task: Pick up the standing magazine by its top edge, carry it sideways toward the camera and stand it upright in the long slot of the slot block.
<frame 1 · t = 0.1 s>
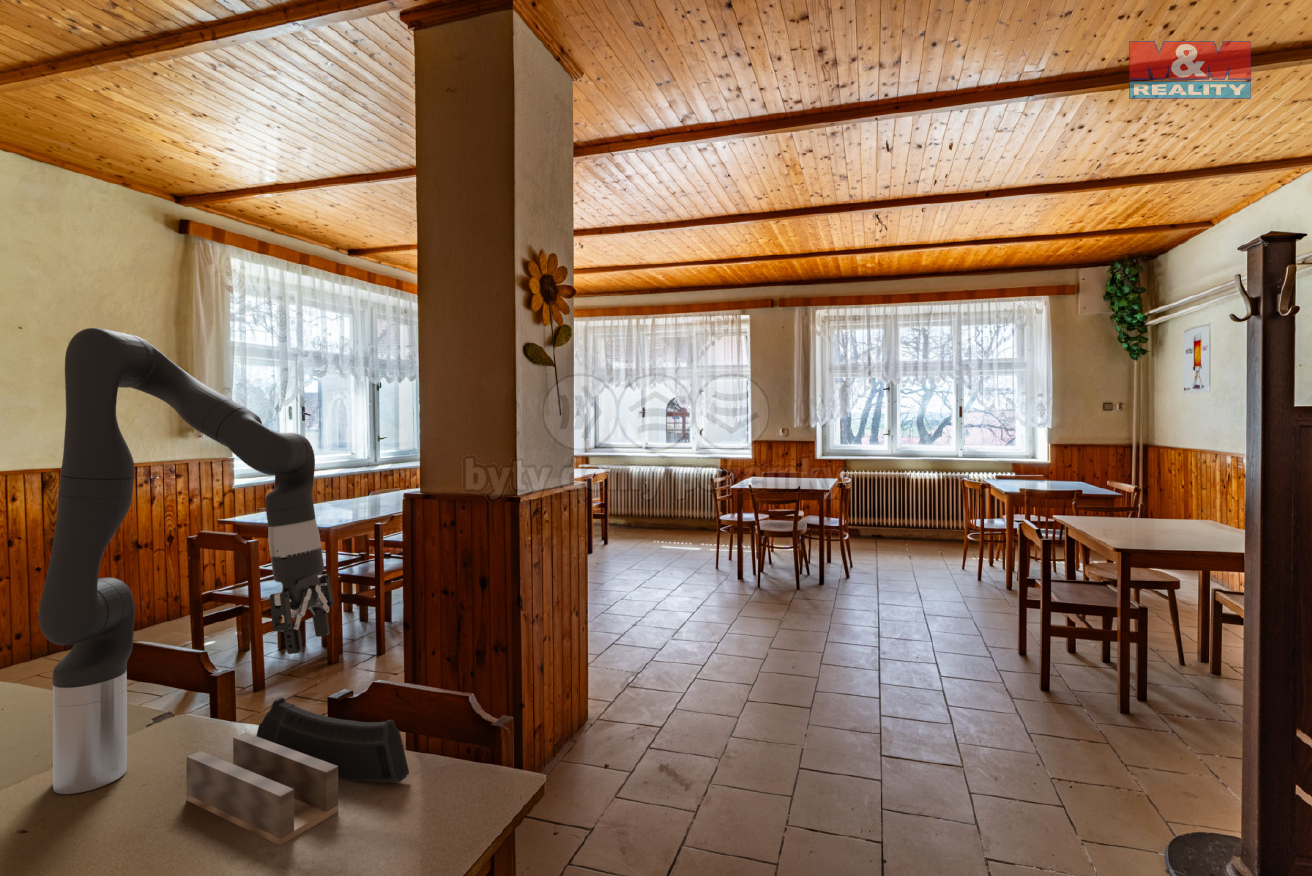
hand: (309, 643, 106), 22 cm above the table, tool pointing down, fingers open, 8 cm apart
magazine: (329, 772, 108), on the table
slot block: (261, 805, 98), on the table
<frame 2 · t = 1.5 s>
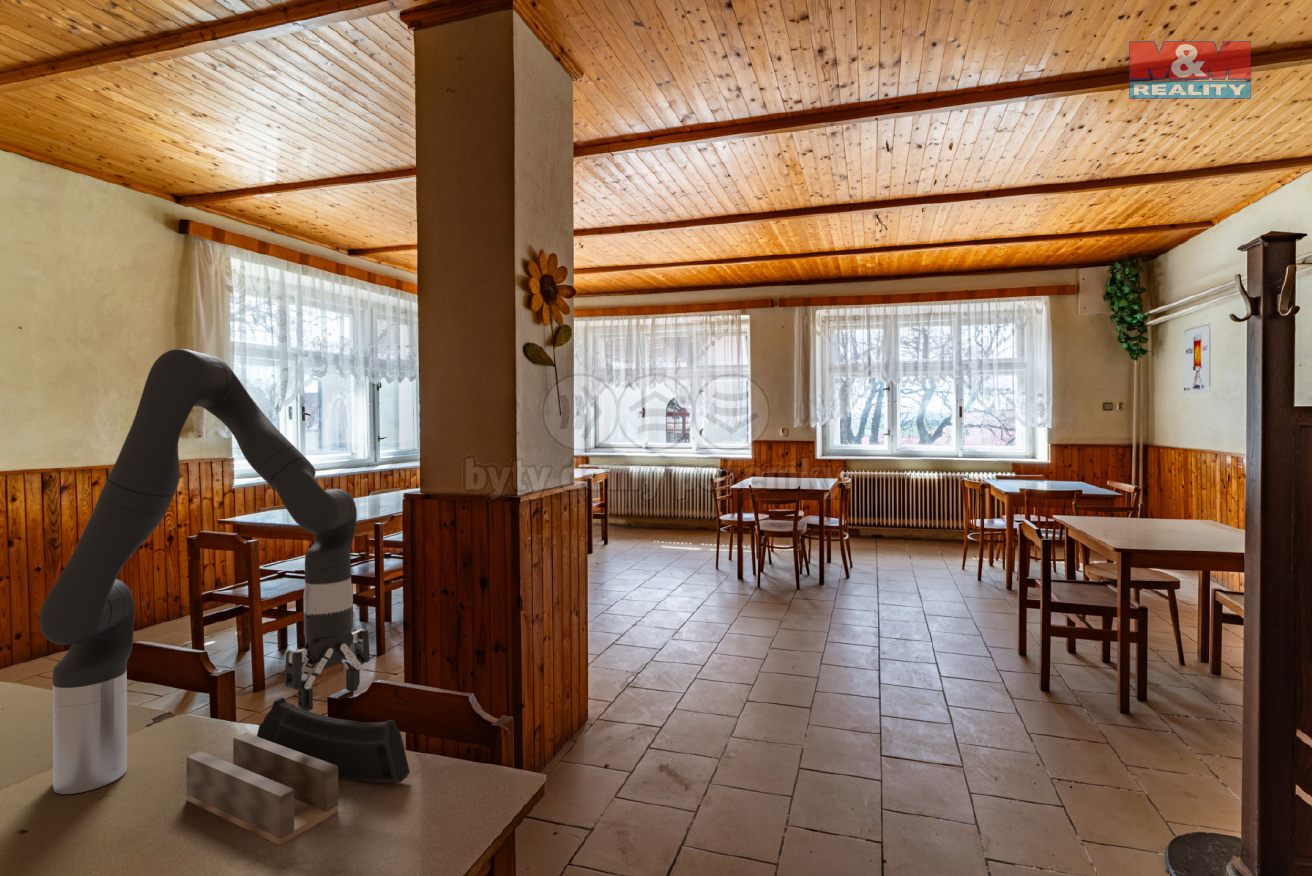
hand: (330, 699, 108), 12 cm above the table, tool pointing down, fingers open, 8 cm apart
nothing on the table moved.
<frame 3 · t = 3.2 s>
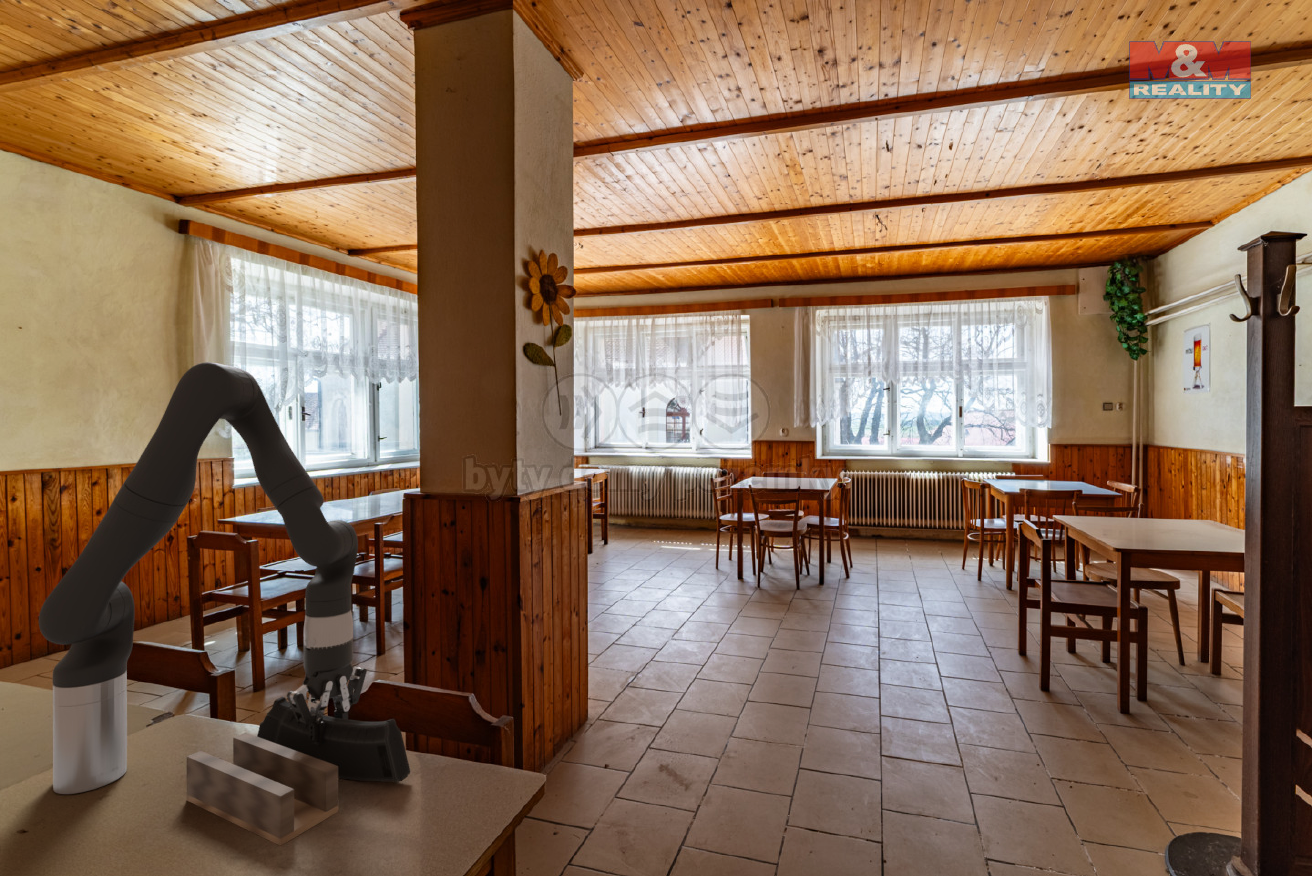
hand: (328, 737, 108), 6 cm above the table, tool pointing down, fingers closed on magazine, 3 cm apart
magazine: (330, 772, 108), on the table, touching gripper
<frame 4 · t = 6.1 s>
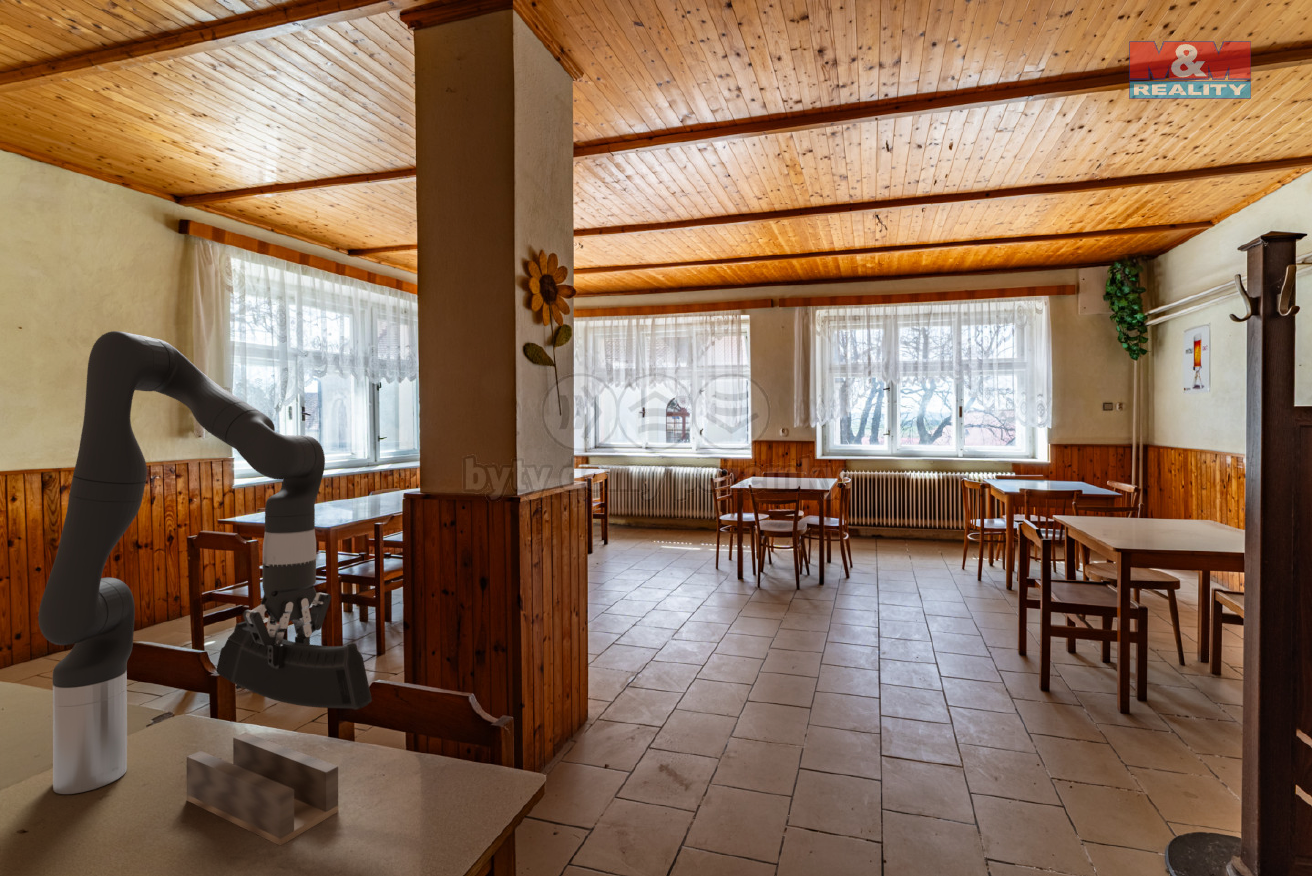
hand: (288, 662, 102), 21 cm above the table, tool pointing down, fingers closed on magazine, 3 cm apart
magazine: (290, 700, 102), point 15 cm above the table, touching gripper
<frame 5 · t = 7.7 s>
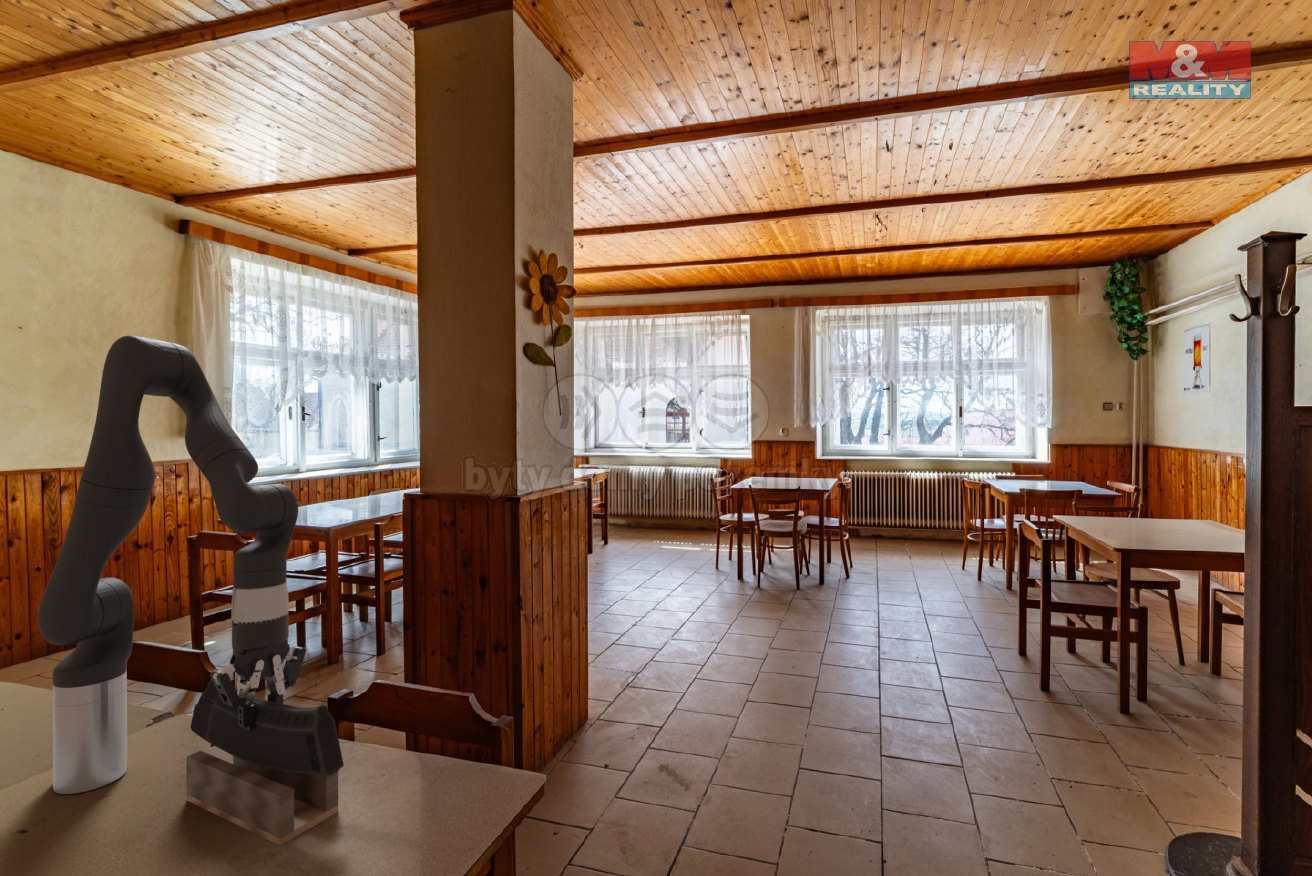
hand: (260, 722, 98), 13 cm above the table, tool pointing down, fingers closed on magazine, 3 cm apart
magazine: (263, 761, 98), point 7 cm above the table, touching gripper
when the fingers open (8 cm above the table, at t = 9.0 s): magazine drops 1 cm, resting on slot block.
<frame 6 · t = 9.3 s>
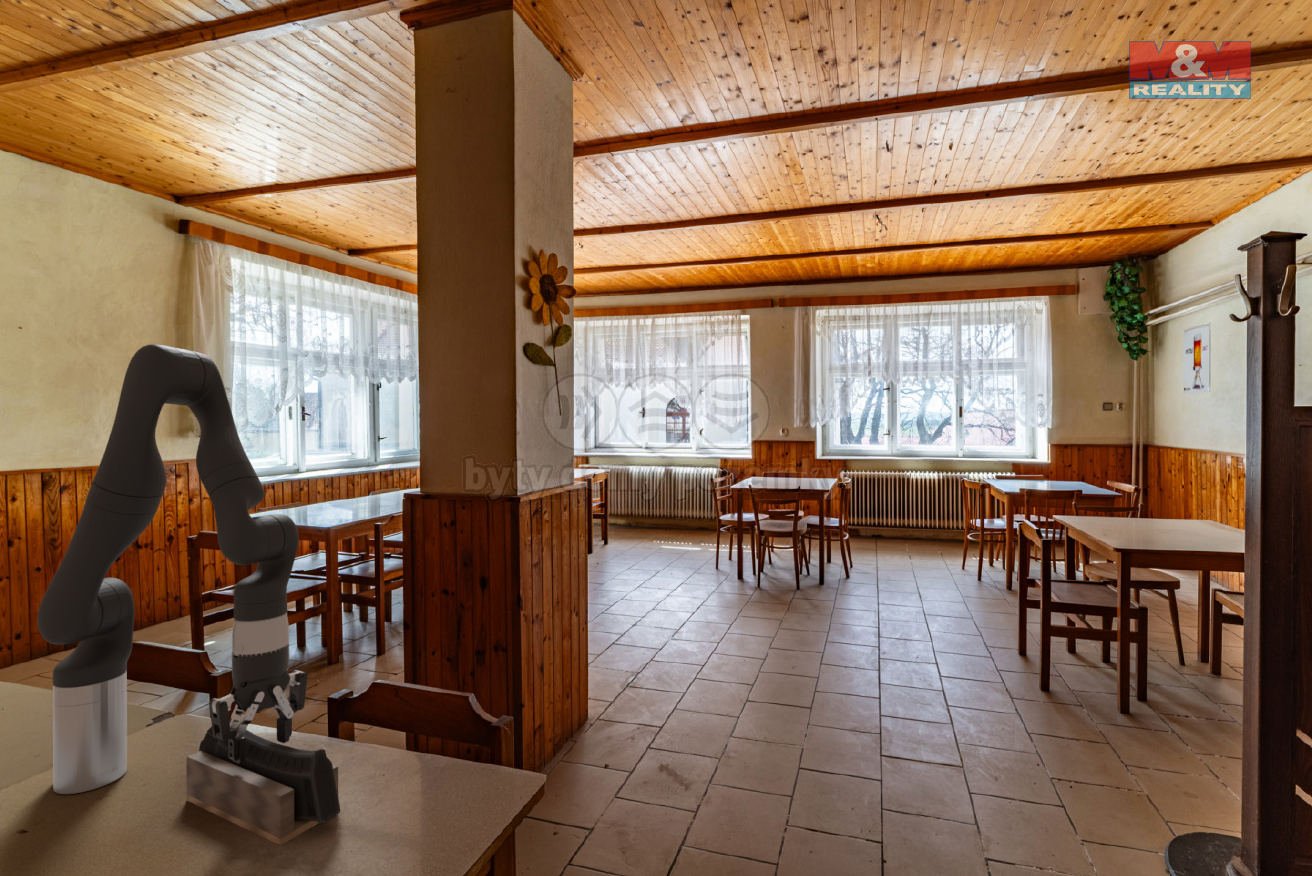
hand: (261, 750, 98), 9 cm above the table, tool pointing down, fingers open, 6 cm apart
magazine: (264, 802, 97), point 1 cm above the table, touching slot block
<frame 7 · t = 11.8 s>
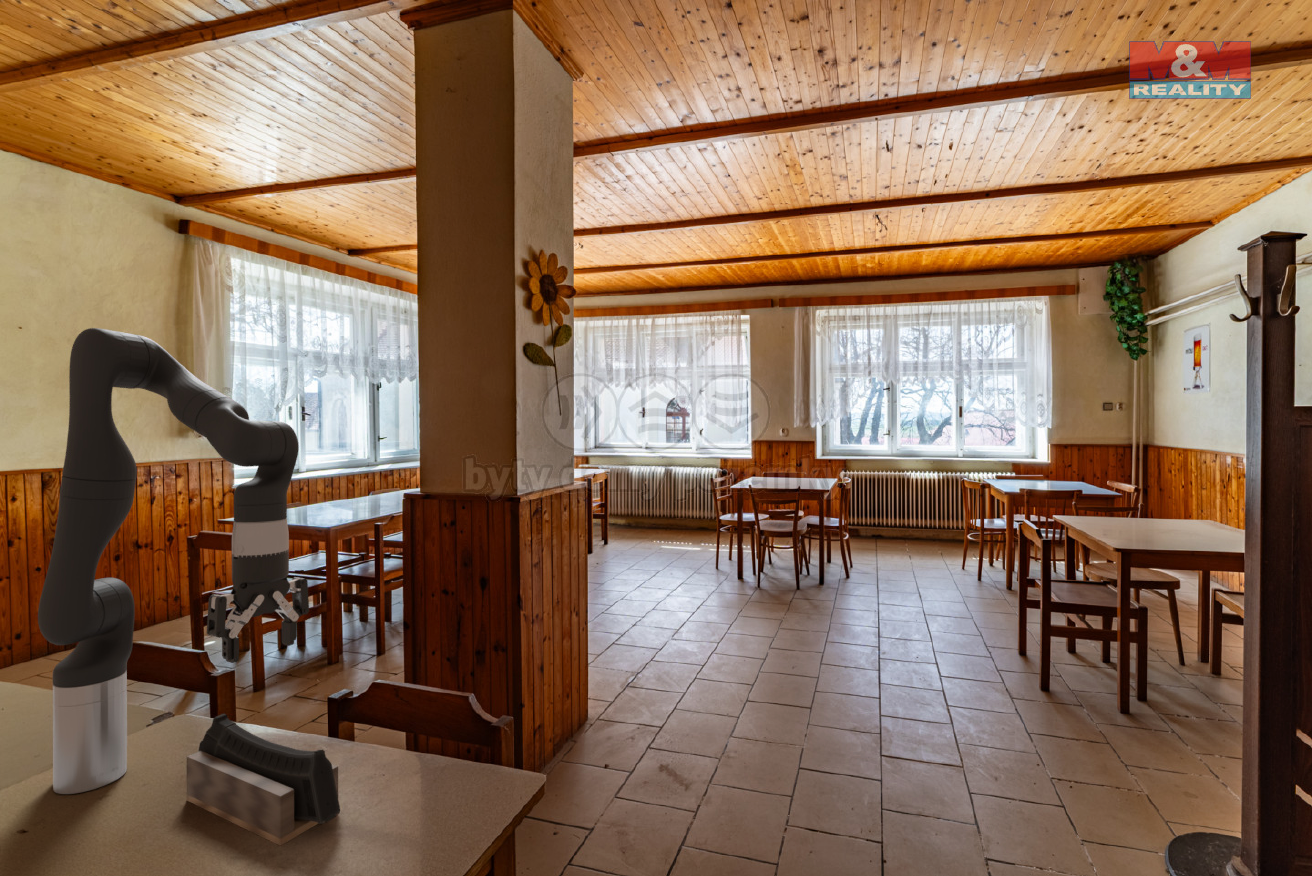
hand: (260, 652, 98), 24 cm above the table, tool pointing down, fingers open, 8 cm apart
nothing on the table moved.
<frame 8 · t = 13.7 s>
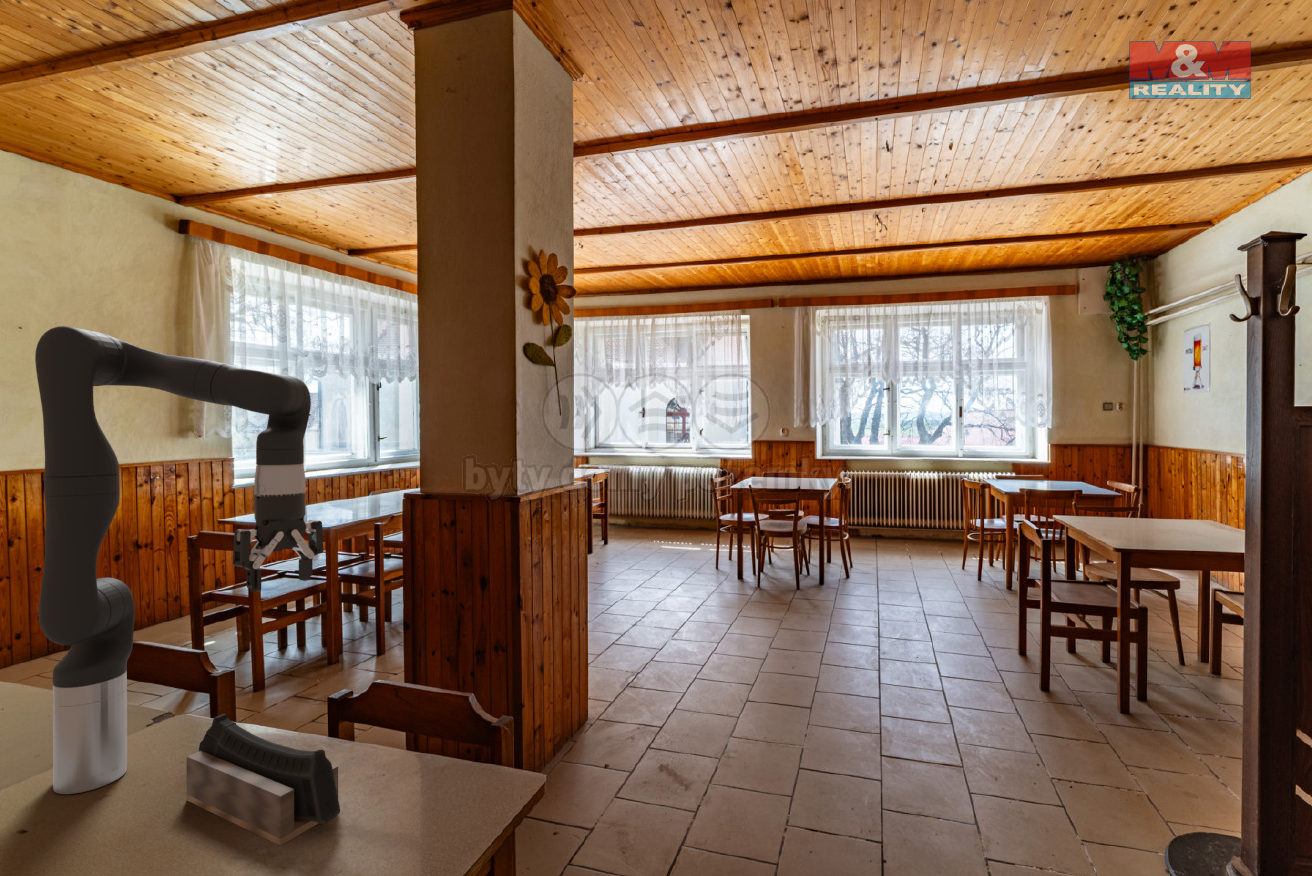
hand: (280, 585, 107), 32 cm above the table, tool pointing down, fingers open, 8 cm apart
nothing on the table moved.
at the end: magazine 0.8 cm off-centre on the slot block, point 0.8 cm above the slot block's base; the gripper is holding nothing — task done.
